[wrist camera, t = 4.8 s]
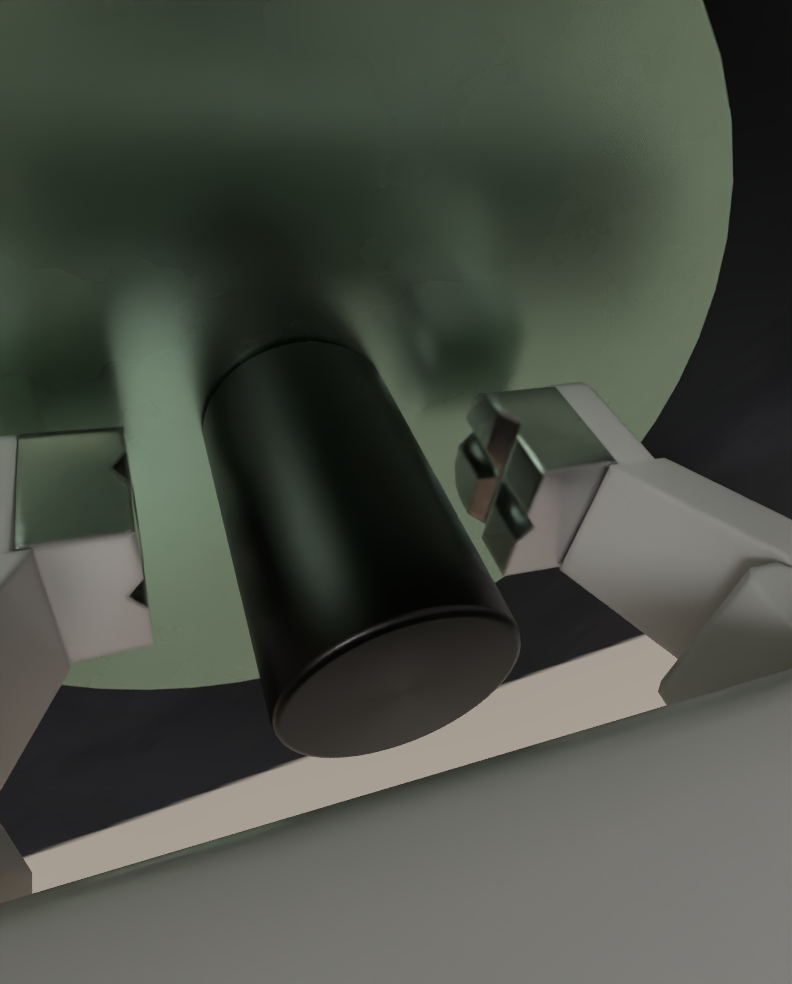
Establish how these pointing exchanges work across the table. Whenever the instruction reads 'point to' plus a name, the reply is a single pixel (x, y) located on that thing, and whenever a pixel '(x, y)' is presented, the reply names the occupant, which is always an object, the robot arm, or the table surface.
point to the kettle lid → (343, 304)
